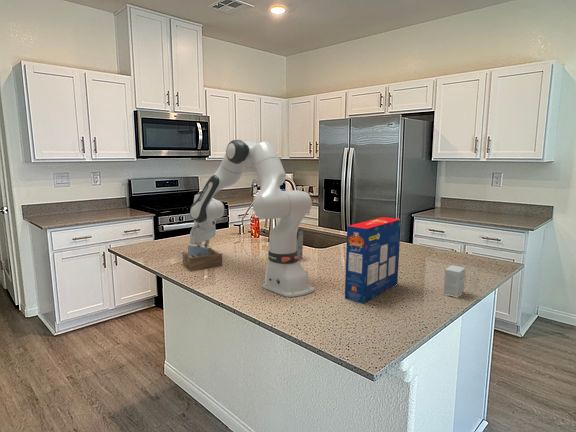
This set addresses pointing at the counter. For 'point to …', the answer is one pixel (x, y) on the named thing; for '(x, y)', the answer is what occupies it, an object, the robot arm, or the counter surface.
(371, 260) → the blue red retail box
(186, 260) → the wooden u-shaped block
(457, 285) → the small box
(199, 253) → the dark gray rectangular block
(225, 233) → the counter surface
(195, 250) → the rounded end plank
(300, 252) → the coffee box
